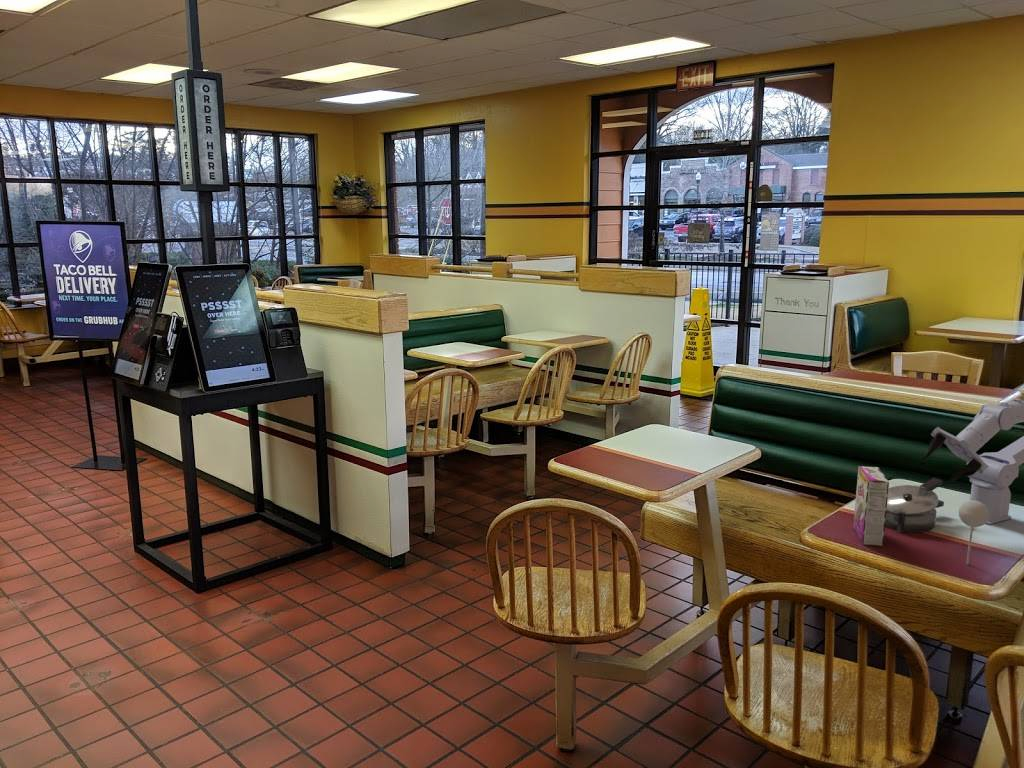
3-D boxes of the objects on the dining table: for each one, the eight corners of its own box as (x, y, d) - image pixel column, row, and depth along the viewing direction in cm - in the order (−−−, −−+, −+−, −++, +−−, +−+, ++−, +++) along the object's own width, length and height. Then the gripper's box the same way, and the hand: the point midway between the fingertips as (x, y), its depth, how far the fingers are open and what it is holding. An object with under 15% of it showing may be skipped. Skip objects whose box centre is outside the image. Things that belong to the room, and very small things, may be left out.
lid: (914, 475, 214) (914, 470, 214) (963, 490, 202) (962, 485, 202) (867, 503, 207) (866, 498, 207) (914, 521, 195) (913, 515, 195)
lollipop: (958, 556, 185) (966, 494, 182) (986, 564, 180) (995, 501, 177) (947, 563, 181) (955, 500, 178) (976, 572, 176) (984, 508, 173)
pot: (915, 506, 216) (917, 488, 215) (961, 522, 205) (963, 503, 204) (864, 518, 207) (866, 500, 206) (909, 536, 196) (911, 517, 195)
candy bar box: (851, 527, 202) (857, 465, 198) (872, 529, 201) (879, 466, 197) (861, 545, 191) (867, 479, 187) (883, 547, 190) (890, 481, 186)
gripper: (953, 410, 200) (917, 442, 197) (1005, 450, 194) (969, 483, 190) (943, 424, 206) (908, 455, 203) (994, 462, 200) (958, 495, 196)
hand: (937, 469), depth 197 cm, fingers open, 7 cm apart
